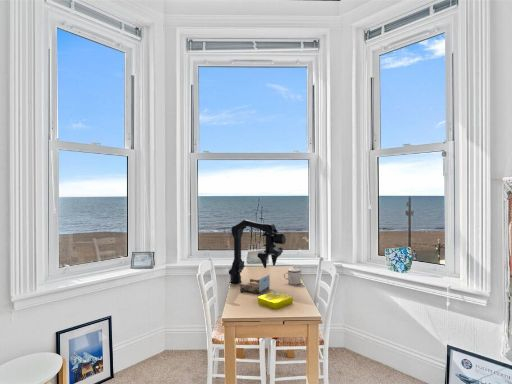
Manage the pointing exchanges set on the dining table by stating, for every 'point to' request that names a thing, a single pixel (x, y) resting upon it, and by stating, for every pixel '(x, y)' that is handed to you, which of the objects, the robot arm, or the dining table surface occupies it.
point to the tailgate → (264, 282)
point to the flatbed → (251, 287)
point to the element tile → (275, 300)
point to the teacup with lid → (293, 275)
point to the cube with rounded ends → (254, 283)
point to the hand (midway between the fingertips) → (269, 266)
